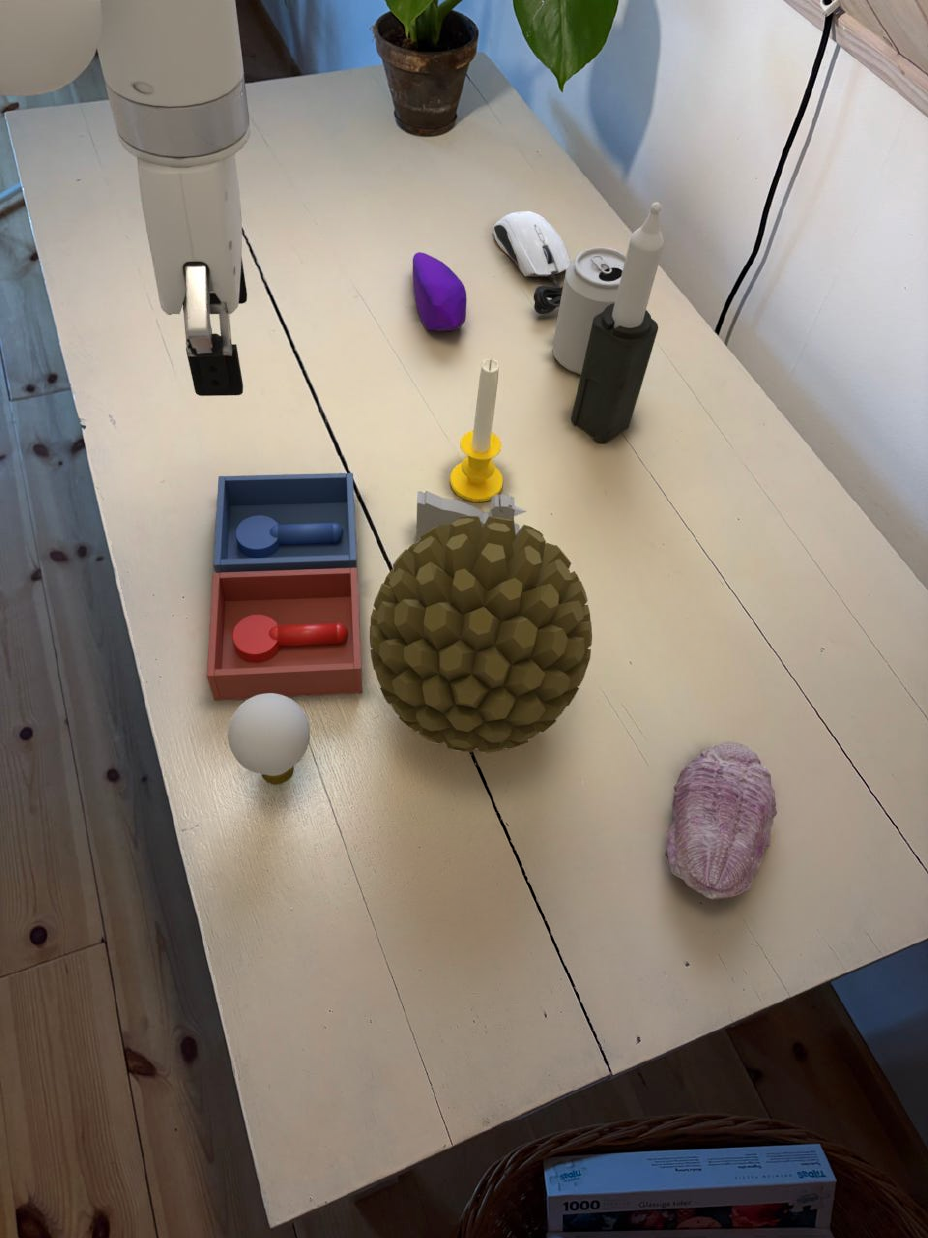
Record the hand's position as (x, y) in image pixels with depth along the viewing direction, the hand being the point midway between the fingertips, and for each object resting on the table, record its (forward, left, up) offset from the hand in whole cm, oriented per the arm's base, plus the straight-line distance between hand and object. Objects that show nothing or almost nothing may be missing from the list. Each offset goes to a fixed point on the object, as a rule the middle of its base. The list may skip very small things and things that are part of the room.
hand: (223, 345), depth 68 cm
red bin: (+3, -11, -23) cm, 26 cm away
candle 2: (+35, +15, -24) cm, 45 cm away
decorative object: (+18, -17, -24) cm, 34 cm away
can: (+35, +25, -24) cm, 49 cm away
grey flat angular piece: (+20, 0, -24) cm, 31 cm away
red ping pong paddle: (+3, -11, -23) cm, 25 cm away
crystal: (+19, +34, -24) cm, 45 cm away
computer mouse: (+32, +41, -24) cm, 57 cm away
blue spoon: (+3, 0, -23) cm, 23 cm away
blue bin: (+3, 0, -23) cm, 23 cm away
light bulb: (+2, -23, -24) cm, 33 cm away
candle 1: (+21, +7, -24) cm, 32 cm away
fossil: (+36, -30, -24) cm, 52 cm away
